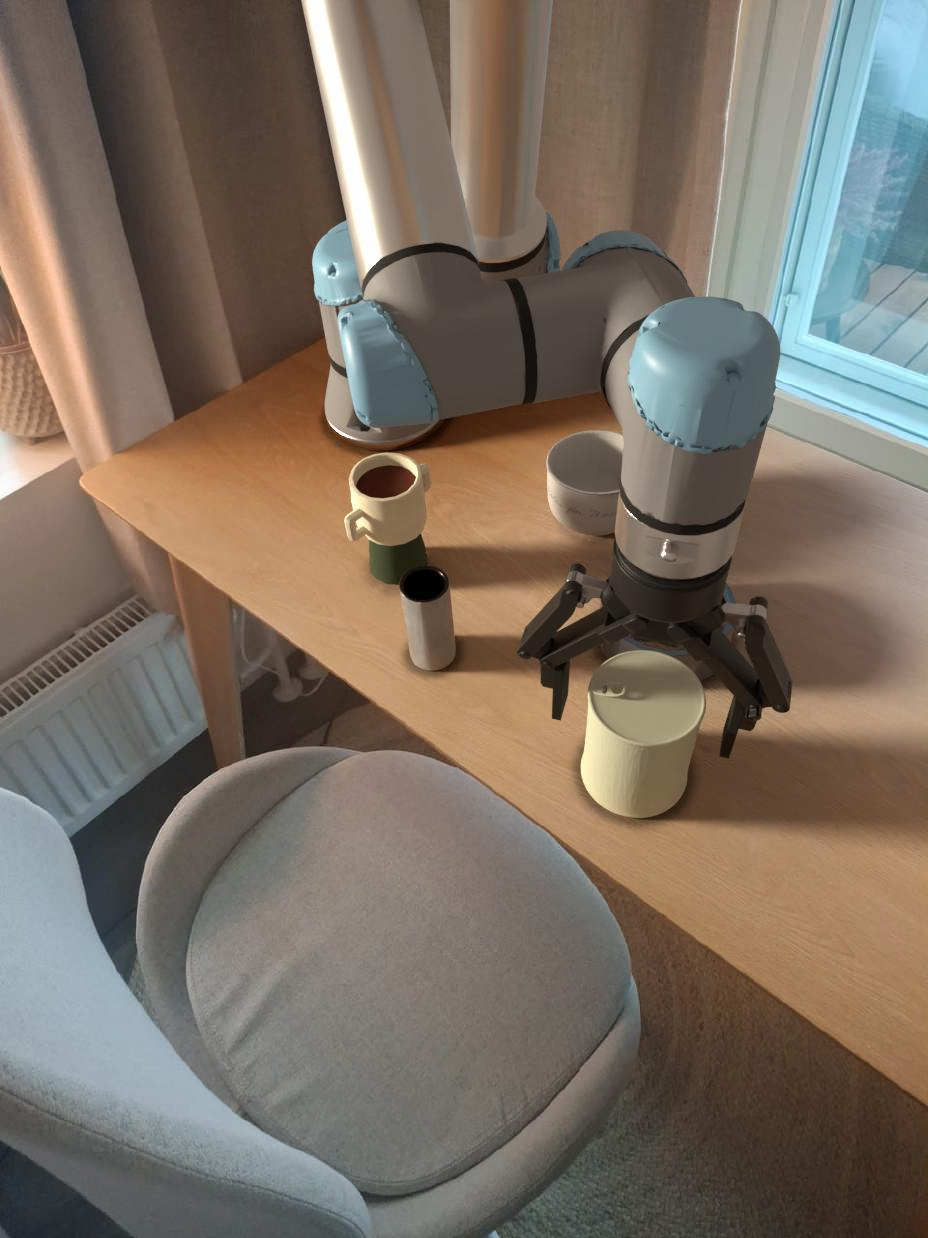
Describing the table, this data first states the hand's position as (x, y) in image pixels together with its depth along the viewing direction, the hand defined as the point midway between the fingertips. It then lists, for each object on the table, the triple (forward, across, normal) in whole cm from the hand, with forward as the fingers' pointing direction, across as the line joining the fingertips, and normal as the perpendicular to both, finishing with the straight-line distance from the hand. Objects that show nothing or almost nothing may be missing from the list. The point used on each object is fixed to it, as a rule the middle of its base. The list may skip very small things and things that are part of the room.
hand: (641, 725), depth 74 cm
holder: (+7, 0, +16) cm, 17 cm away
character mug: (+7, -28, +18) cm, 34 cm away
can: (+7, 0, 0) cm, 7 cm away
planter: (+7, -21, +8) cm, 24 cm away
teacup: (+7, -8, +30) cm, 32 cm away
